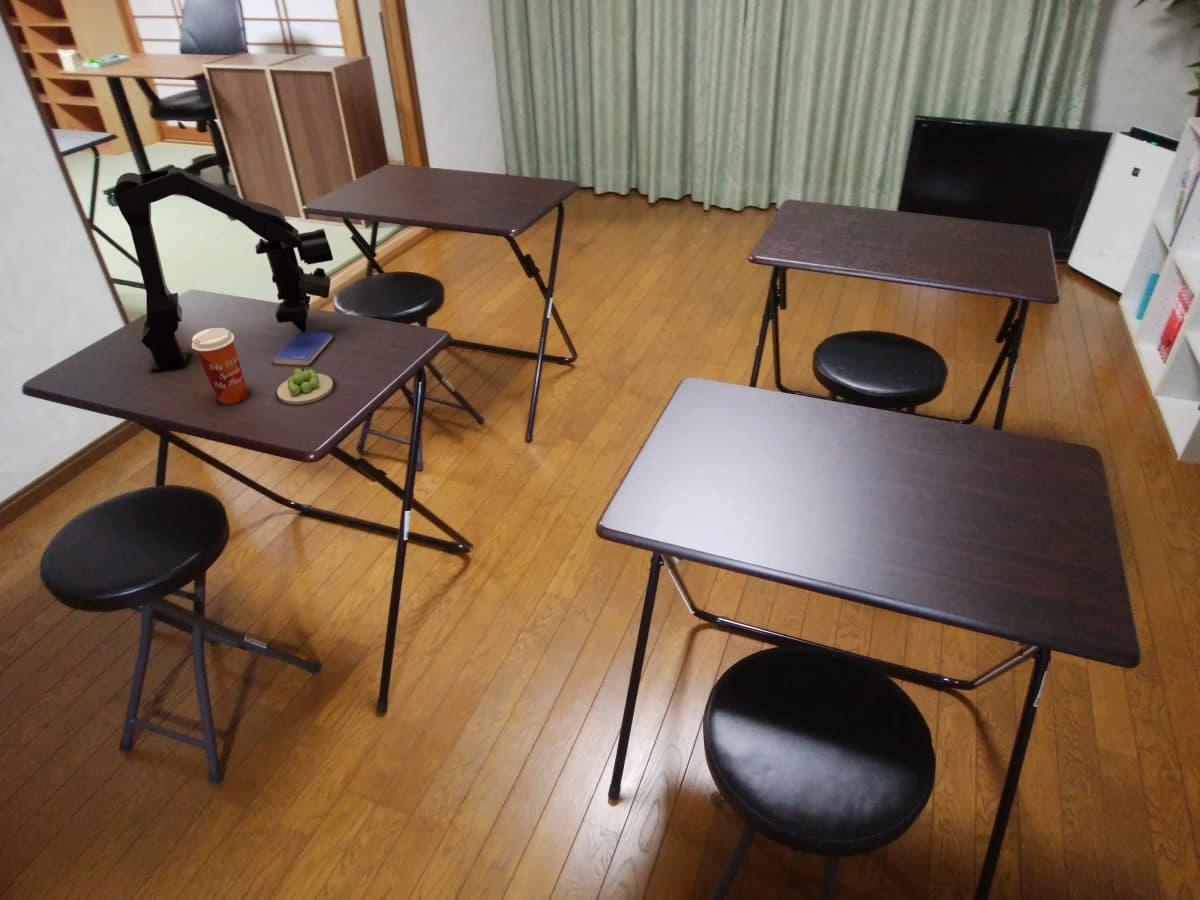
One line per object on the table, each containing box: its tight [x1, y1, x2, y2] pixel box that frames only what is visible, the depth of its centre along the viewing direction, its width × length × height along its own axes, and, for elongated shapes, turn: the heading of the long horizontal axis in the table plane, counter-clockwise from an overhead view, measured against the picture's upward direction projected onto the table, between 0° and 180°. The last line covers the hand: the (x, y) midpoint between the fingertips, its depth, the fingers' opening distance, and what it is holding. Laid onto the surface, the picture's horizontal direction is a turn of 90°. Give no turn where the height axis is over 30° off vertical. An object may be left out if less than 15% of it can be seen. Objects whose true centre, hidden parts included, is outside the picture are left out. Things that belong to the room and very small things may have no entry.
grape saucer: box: [276, 372, 334, 406], centre depth 156 cm, size 11×11×1 cm
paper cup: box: [191, 327, 248, 405], centre depth 151 cm, size 8×8×14 cm
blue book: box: [272, 331, 334, 366], centre depth 170 cm, size 2×8×12 cm
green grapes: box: [287, 365, 319, 395], centre depth 155 cm, size 8×6×5 cm
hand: (304, 331), depth 175 cm, fingers closed
